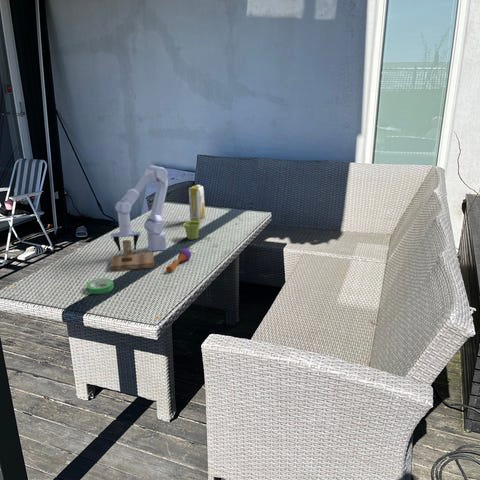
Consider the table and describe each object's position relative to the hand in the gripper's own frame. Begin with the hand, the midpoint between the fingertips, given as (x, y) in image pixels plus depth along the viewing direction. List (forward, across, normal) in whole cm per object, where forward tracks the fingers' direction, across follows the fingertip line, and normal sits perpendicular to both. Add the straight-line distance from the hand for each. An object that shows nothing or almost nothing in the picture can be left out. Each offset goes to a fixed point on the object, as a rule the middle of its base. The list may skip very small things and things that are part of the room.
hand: (127, 250), depth 234 cm
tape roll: (+4, +10, +38) cm, 39 cm away
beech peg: (+3, 0, 0) cm, 3 cm away
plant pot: (+3, -35, -21) cm, 41 cm away
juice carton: (+3, -41, -52) cm, 66 cm away
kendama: (+4, -25, +18) cm, 31 cm away
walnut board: (+3, -3, +12) cm, 13 cm away
